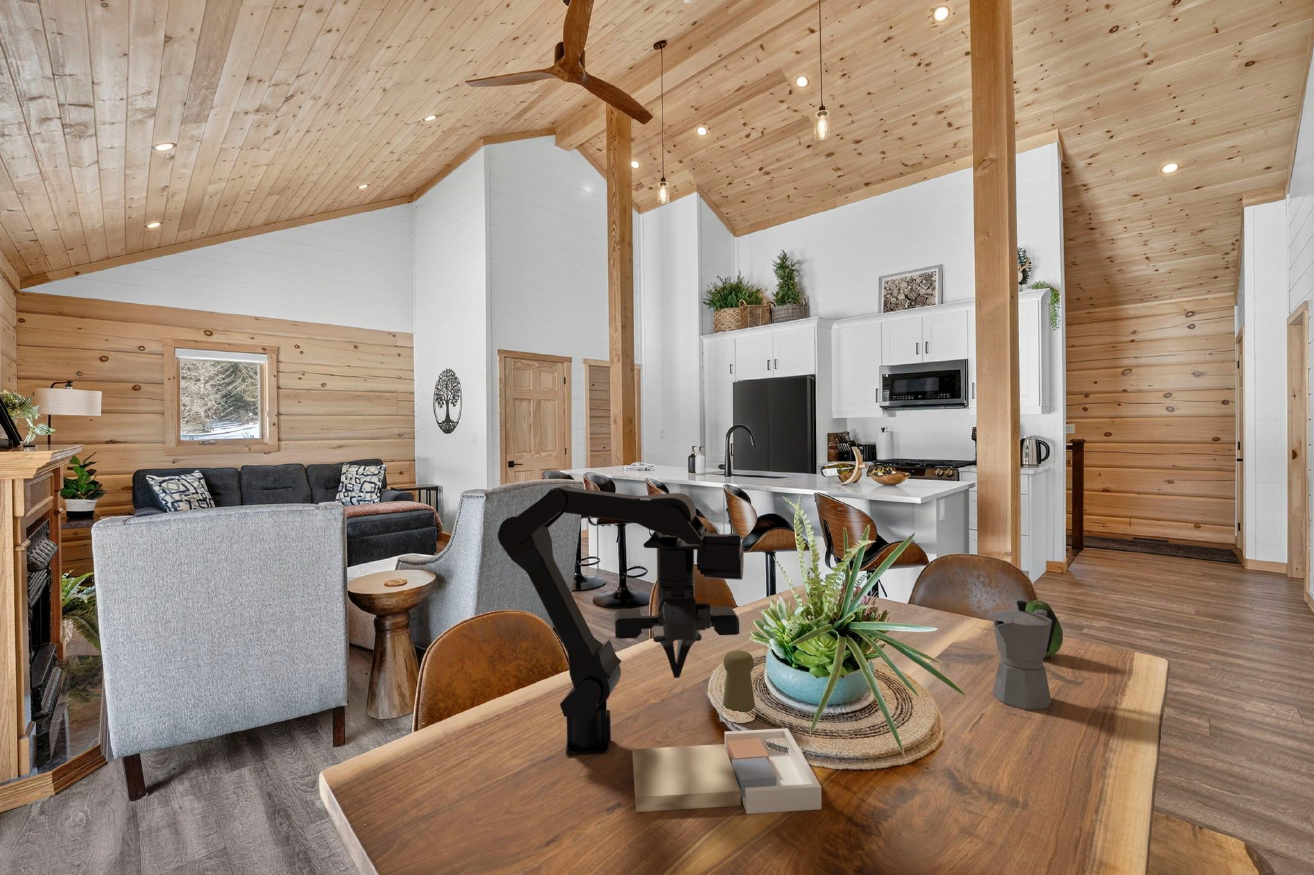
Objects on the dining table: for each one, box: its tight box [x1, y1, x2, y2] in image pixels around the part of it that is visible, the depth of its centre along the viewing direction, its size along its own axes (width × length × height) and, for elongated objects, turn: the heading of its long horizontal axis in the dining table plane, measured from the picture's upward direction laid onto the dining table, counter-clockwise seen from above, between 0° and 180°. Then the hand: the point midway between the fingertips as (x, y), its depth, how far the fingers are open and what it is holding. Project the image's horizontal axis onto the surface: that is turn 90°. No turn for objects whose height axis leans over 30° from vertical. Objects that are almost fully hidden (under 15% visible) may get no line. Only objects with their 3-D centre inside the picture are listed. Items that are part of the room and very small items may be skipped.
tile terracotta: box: [727, 738, 769, 765], centre depth 93 cm, size 5×5×2 cm
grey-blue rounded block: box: [732, 757, 777, 797], centre depth 87 cm, size 5×5×2 cm
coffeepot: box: [991, 599, 1058, 711], centre depth 113 cm, size 15×9×18 cm, turn 113°
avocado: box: [1025, 599, 1064, 658], centre depth 133 cm, size 8×8×12 cm
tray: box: [724, 727, 822, 815], centre depth 90 cm, size 10×16×3 cm, turn 4°
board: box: [632, 743, 742, 813], centre depth 89 cm, size 14×12×2 cm
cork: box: [722, 649, 756, 712], centre depth 109 cm, size 6×6×11 cm
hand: (676, 676), depth 96 cm, fingers closed
